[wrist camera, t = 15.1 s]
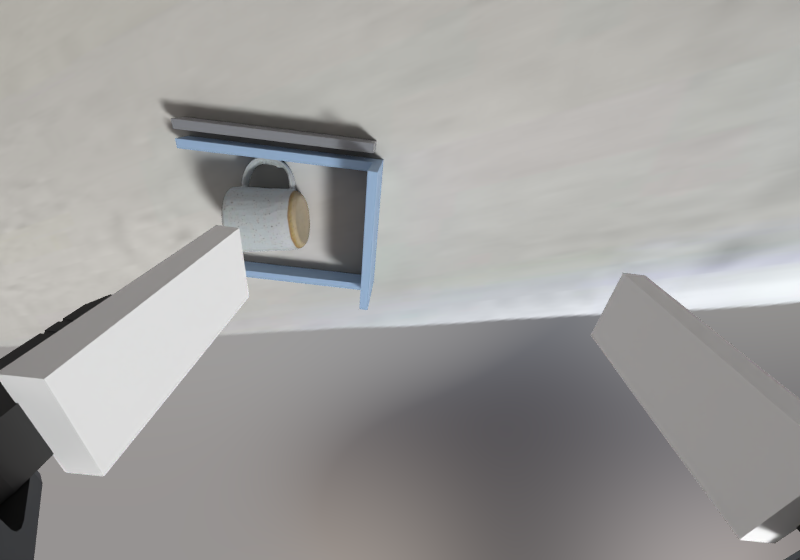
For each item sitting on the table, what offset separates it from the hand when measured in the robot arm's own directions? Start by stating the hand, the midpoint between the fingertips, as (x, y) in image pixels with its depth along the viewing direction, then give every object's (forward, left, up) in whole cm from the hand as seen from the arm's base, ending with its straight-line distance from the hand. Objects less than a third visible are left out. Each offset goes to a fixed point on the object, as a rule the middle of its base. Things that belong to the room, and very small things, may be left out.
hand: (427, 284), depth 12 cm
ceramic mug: (+17, +8, -31) cm, 36 cm away
